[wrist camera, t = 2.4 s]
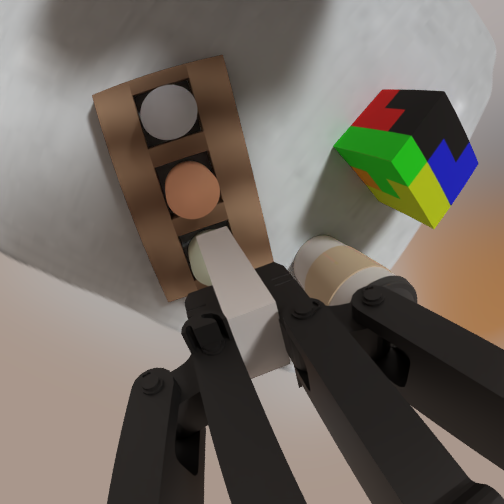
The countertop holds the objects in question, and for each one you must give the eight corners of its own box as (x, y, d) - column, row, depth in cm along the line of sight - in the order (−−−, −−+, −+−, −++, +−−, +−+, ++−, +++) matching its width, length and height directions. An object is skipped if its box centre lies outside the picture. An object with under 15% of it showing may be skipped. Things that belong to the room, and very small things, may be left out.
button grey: (137, 98, 24) (133, 95, 21) (186, 82, 24) (189, 77, 21) (150, 144, 26) (149, 147, 23) (198, 128, 26) (203, 130, 23)
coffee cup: (277, 294, 38) (336, 380, 25) (292, 223, 35) (370, 292, 22) (339, 292, 41) (406, 363, 28) (357, 228, 38) (441, 286, 25)
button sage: (181, 237, 30) (184, 251, 27) (225, 222, 31) (233, 235, 28) (195, 275, 32) (200, 292, 29) (236, 261, 33) (245, 276, 30)
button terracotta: (158, 170, 27) (158, 176, 24) (205, 154, 28) (211, 159, 25) (173, 214, 29) (175, 226, 26) (218, 199, 30) (225, 209, 27)
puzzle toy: (420, 147, 36) (478, 163, 27) (378, 201, 37) (434, 229, 29) (382, 89, 31) (444, 91, 22) (332, 146, 33) (391, 161, 24)
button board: (96, 96, 24) (91, 95, 22) (218, 58, 26) (222, 54, 24) (167, 292, 34) (168, 302, 32) (268, 256, 36) (274, 264, 34)
